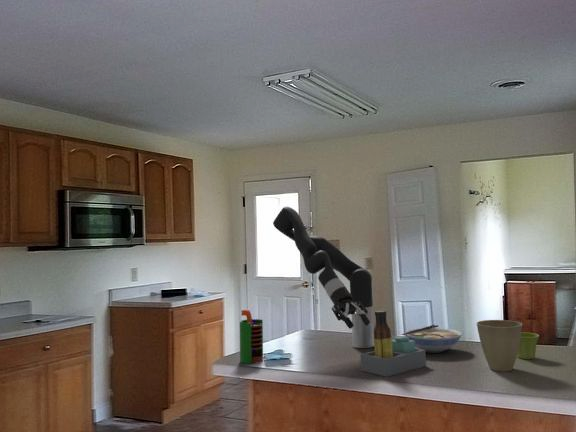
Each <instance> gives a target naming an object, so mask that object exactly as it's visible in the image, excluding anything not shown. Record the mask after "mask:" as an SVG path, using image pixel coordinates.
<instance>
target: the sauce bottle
mask: <svg viewBox="0 0 576 432" xmlns="http://www.w3.org/2000/svg"><path fill="white" fill-rule="evenodd" d="M374 316H375V327H374V330H373V331H374V351H375V356H376V357H381V358H389V357H393V351H392V340H393V339H392V334H391V333H392V332H391V329H390V327H389V325H388V323H387V322H388V321H387V310H381V309H380V310H375V311H374Z"/></svg>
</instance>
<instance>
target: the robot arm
mask: <svg viewBox="0 0 576 432" xmlns="http://www.w3.org/2000/svg"><path fill="white" fill-rule="evenodd" d="M272 224H273V226H274V228H275V229H277V231H278V232H279V233H281V234H283V235H284V236H286V237H287V238H288V239H291V240H292V241H294V243H295V247H296V248H297V250H298V251H299V252H300V254H301V256H302V258H303V264H304V267H305V270H306V271H307V273H308V274H312V275H313V274H314V275H315V274H317V273H318V272H319V273H320V274H319V275H318V281H319V283H320V284H321V286H322V287H323V289H324V290H325V293H326V295H327V296H328V297H329V299H330V301H331V302H332V304H333V306H332V307H331V311H332V312H333V314H334V316H335V317H336V320H337V321H342V322H344V324H345V326H346V327H348V329H351V330H352V331H351V333H352V347H354V348H355V349H369V348H373V347H374V331H373V330H374V327H375V325H376V322H374V309H373V307H374V305H373V304H374V303H373V287H372V286H373V285H372V283H373V276H372V275H371V273H370V272H369V271H368V270H367V269H365V268H363V267H362V266H360V265H358V264H357V263H355V262H354V261H352V260H351V259H350V258H349V257H347V256H346V254H344V253H343V252H342V251H341V250H340V249H339V248H338V247H336V246H335V245H334V244H333V243H331V242H330V241H329V240H327V239H326V238H325V237H323V236H318V235H309V233H308V231H307V229H306V227H305V225H304V222H303V220H302V218H301V216H300V214H299V213H298V211H296V210H295V209H294V208H292V207H291V206H283V207H282V208H281V210H280V211H279V212H278V214H277V215H276V217H275V218H274V220H273V222H272ZM320 271H321V272H320ZM335 271H336V272H338V273H340V274H341V275H342V276H344V277H345V278H346V280H348V282H349V289H350V290H349V289H348V288H347V287H346V286H345V284H344V282H343V281H341V279H340V278H339V276H338V275H337V273H336V272H335ZM350 315H351V319H350V317H349V316H350ZM374 348H375V347H374Z"/></svg>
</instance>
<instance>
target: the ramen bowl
mask: <svg viewBox="0 0 576 432" xmlns="http://www.w3.org/2000/svg"><path fill="white" fill-rule="evenodd" d="M462 335H463V334H462V332H461V331H459V330H455V329H449V328H440V327H439V325H435V324H431V325H428V326H424V327H421V328H415V329H413V328H412V329H408V330H406V331H404V333H402V334H400V336H406V337H409V340H413V341H415V348H417V349H423V350H425V353H433V354H434V353H435V354H436V353H442V352H444V351H446V350H449V349H451V348H453V347H454V346H456V345H457V344H458V342H459V341H460V339H461V337H462Z"/></svg>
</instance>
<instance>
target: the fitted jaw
mask: <svg viewBox="0 0 576 432" xmlns="http://www.w3.org/2000/svg"><path fill="white" fill-rule="evenodd" d="M415 348H416V347H415V341H413V340H409V337H406V335H399V336H398V335H397V336H394V339H392V351H393V352H398V353H403V354H406V353H411V352H415Z"/></svg>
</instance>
